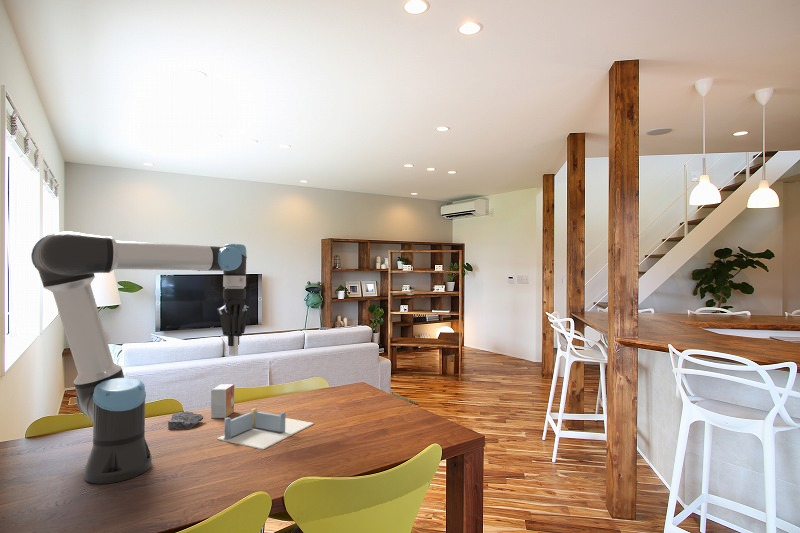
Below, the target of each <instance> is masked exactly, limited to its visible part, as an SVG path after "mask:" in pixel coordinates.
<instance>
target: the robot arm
mask: <svg viewBox="0 0 800 533" xmlns="http://www.w3.org/2000/svg"><path fill="white" fill-rule="evenodd" d="M30 255H31V257H30V258H31V262H32V264H33V266H34V268H35V269H36V270H37V271H38V275H39V277H40V280H41V283H42V285H43V288H44V289H45V290H48V291H50V292H51V293H52V294H53V298H54V301H55V304H56V307H57V311H58V313H59V314H58V315H59V318H60V320H61V323H62V327H63V330H64V333H65V337H66V339H67V343H68V346H69V349H70V353H71V356H72V358H73V361H74V365H75V369H76V372H77V376H76V377H75V379H74V380H73V385H74V388H75V393H76V405H77V407H78V409H79V411H80V412H81V413H82V414H83V415H84V416H86V417H87V418H89V420H91V421H92V447H91V450H90V453H89V456H88V458H87V462H86V464H85V466H84V471H83V472H84V473H83V474H84V475H83V476H84V477H83V478H84V480H85V482H88V483H90V484H99V485H100V484H101V485H102V484H103V485H104V484H113V483H119V482H122V481H127V480H129V479H133V478H136V477H137V476H138V477H139V476H140V475H143V474H144V473H145V472H147V471H148V470H149V469H150V468H151V467H152V463H153V462H152V461H153V460H152V459H153V458H152V453H151V451H150V449H149V448H150V447H149V446H148V443H147V440H146V437H145V433H146V432H145V429H146V428H145V425H146V424H145V423H146V422H145V421H146V397H147V392H146V386H145V384H144V383H143V381H141V380H140V379H136V378H130V377H125V375H124V372H123V368H122V366H121V365H119V364H116V363H114V360H113V357H112V352H111V350H110V346H109V343H108V339H107V336H106V332H105V328H104V326H103V323H102V320H101V315H100V312H99V308H98V306H97V302H96V299H95V295H94V293H93V292H94V291H93V288H92V285H91V284H92V282H93V281H94V279H95V278H96V276H95V274H110V273H111V272H113V271H114V270H146V271H147V270H148V271H149V270H150V271H151V270H155V271H156V270H157V271H168V270H169V271H175V270H176V271H198V272H203V271H205V272H207V271H208V272H217V271H218V272H223V275H222V276H223V280H222V287H223V290H222V298H223V300H224V301H223V304H222V306H221V307H219V308H217V309H216V312H217V314H218V315H219V320H220V325H221V331H222V335H223V336H225V337H227V346H228V356H232V357H235V356H239V345H240V337H242V335H243V334H245V331H246V325H247V320H248V315H249V313H250V310H251V307H250V306H247V305H246V302H245V300H246V296H247V289H246V287H247V258H248V256H247V247H246V245H244V244H239V243H225V244H224V245H223V246H214V245H213V246H211V245H210V246H209V245H198V244H196V245H195V244H194V245H193V244H176V243H159V242H156V243H155V242H143V241H142V242H141V241H138V242H137V241H122V240H115V239H114V238H113V237H112V236H105V235H103V236H102V235H96V234H86V233H83V232H76V231H60V232H56V233H52V234H48V235H45V236H44V237H41V238H40V239H39V240H38V241H36V243H35V245H34V246H33V247H32V252H31V254H30Z"/></svg>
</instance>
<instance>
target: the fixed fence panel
mask: <svg viewBox="0 0 800 533" xmlns="http://www.w3.org/2000/svg"><path fill="white" fill-rule="evenodd" d="M251 428H252V412H247V413H245V414H241V415H239V416H236V417H234V418H231V417H226V418H224V435H225V438H224V439H225V440H229V439H230V438H231V437H232V436H235V435H237V434H239V433H241V432H244V431H246V430H248V429H251Z"/></svg>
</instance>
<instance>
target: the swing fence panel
mask: <svg viewBox="0 0 800 533" xmlns="http://www.w3.org/2000/svg"><path fill="white" fill-rule="evenodd" d="M251 413H252V427H257V428H262V429H267V430H273V431H278V432H285V418H286V412H284V411H283V412H280V413H279V414H276V413H270V412H263V411H258V410H257V408H256V407H255V408H251Z"/></svg>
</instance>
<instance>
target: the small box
mask: <svg viewBox="0 0 800 533" xmlns="http://www.w3.org/2000/svg"><path fill="white" fill-rule="evenodd" d="M210 393H211V395H210V419H225V418H228V417H229V416H230V415H231V414H233V413H234V412H235V384H233V383H232V384H230V383H229V384H226V383H223V384H221V383H220V384H218V385H217V386H216V387H214V388H212V389H211V390H210Z"/></svg>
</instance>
